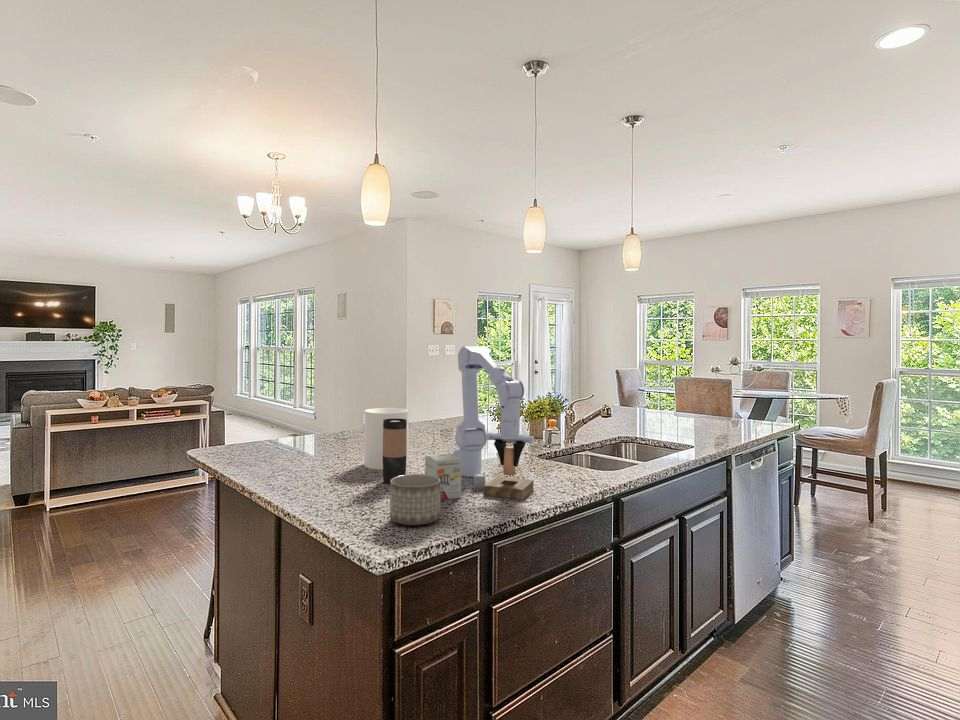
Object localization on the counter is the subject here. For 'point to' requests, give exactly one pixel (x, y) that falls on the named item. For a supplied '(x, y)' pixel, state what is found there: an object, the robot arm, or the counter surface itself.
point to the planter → (415, 499)
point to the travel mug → (394, 448)
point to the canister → (379, 434)
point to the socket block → (508, 488)
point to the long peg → (509, 461)
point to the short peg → (479, 481)
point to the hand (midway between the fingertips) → (509, 465)
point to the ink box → (445, 473)
